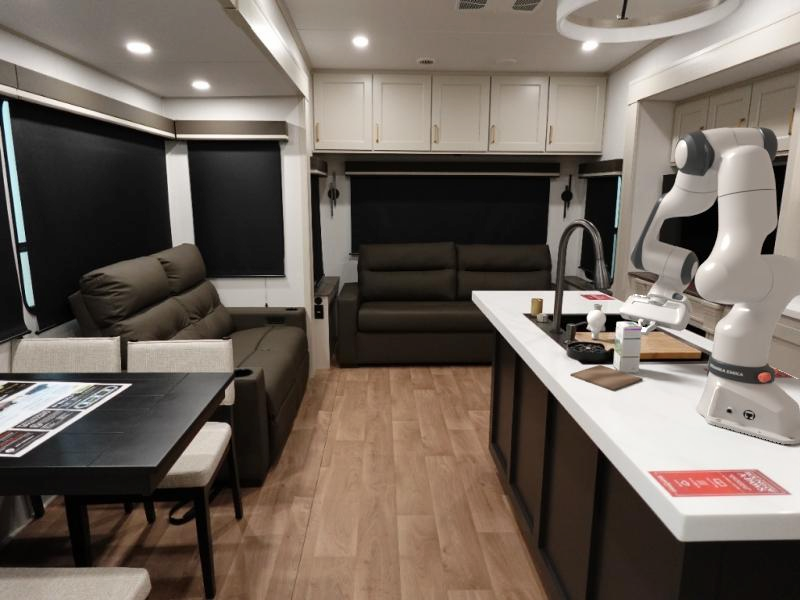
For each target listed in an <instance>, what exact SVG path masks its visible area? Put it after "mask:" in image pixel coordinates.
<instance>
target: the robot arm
mask: <svg viewBox="0 0 800 600" xmlns="http://www.w3.org/2000/svg"><path fill="white" fill-rule="evenodd" d="M778 141H779V140H778V137H777V135H776V134H775V132H774V131H773V130H772V129H771V128H768V127H763V126H762V127H761V126H752V127H727V126H725V127H717V128H711V129H710V128H709V129H706V130H699V129H698V130H693V131H690V132H688V133H685V134H682V136H681V137H680V138H679V140H678V141H677V142H676V145H675V148H674V153H673V154H674V155H673V157H674V164H675V167H676V169H677V170H678V171H677V174H676V177H675V179H674V180H675V182H674V184H673V186H672V187H671V189H670V191H668V192H665V193H663V194H662V195H661V196H659V198H658V199H657V200H656V202H655V203H654V206H653V207H652V209H651V212H650V214H649V215H648V218H647V220H646V223H645V224H644V227H643V229H642V231H641V233H640V236H639V238H638V240H637V242H636V243H635V245H634V247H633V248H632V250H631V254H630V262H631V263H632V265H633V267H634V268H635V269H636V270H640V271H644V272H649V273H652V274H655V275H657V276H658V279H657V280H656V281H655V282H654V283H653V284H652V286H651V288H650V289H649V291H648V293H647V295H644V294H639V293H635V294H631V295H629V297H628V298H627V299H626V300H625V301H624V303H623V304H622V305H621V307H620V308H619V310H618V311H619V314H620V316H621V318H622V319H624V320H629V321H632V322H636V323H637V322H638V323H637V324H638V325H640V326H642V335H643V336H646V337H647V336H649V334H650V333H651V332H653V331H654V330H655V329H657V328H659V327H661V328H664V329H668V330H673V331H678V332H681V331H684V330H685V329H686V328H687V325H688V324H689V322H690V319H691V313H692V312H693V306H692V304H691V302H690V299H689V298H688V297H687V295H684V294H683V293H684V291H685V290H687V288H688V287H689V285H690V283H691V282H693V280H694V285H695V289H696V292H697V293H698V295H699V296H700V297H701V298H702V299H704V300H705V301H708V302H712V303H716V304H720V305H721V304H722V305H733V306H732V308H731V309H730V311H729V312H728V313H727V314H726V315H725V316H724V317H723V318H721V319H720V320H719V321H718V322H717V323H716V325H715V329H714V335H713V342H712V343H713V344H712V349H711V354H709V358H708V361H707V369H706V375H707V378H706V382H705V386H704V390H703V392H702V395H701V397H700V400H699V402H698V403H697V406H696V410H697V412H698V413H699V414H700V415H701V416H702V417H704V418H705V421H706V422H707V423H708V424H709V425H712V426H715V425H716V427H720V428H722V427H723V428H722V429H726V428H727V429H726V430H729V429H731V430H730V431H733V430H734V432H737V433H740V432H741V434H744V433H745V435H747V434H748V436H751V435H752V437H754V436H756V437H755V438H758V437H759V439H761V438H762V440H765V439H766V441H768V440H769V441H768V442H772V441H773V443H776V442H777V443H776V444H779V443H781V444H780V445H784V444H791V445H797V444H800V405H799V403H798V402H797V401H796V400H794V398H793V397H792V396H790V395H789V394H788V392H786V391H785V390H784V389H783V388H782V387H781V386H779V385H778V383H776V382H775V379H776V375H777V374H778V373H779V372H778V371H779V368H775V369H773V368H772V367H771V366H770V364H769V363H768V359H769V353H770V348H771V342H772V339H773V334H774V332H775V330H776V329H775V328H776V326H777V325H778V322H779V320H780V318H781V317H782V314H783V313H784V312H785V310H786V308H787V307H788V305H789V304H790V303H791V302H792V300H794V299H795V298H796V297H797V296H798V295H800V260H799V259H796V258H795V257H790V256H787V255H781V254H775V253H773V254H761V253H762V247H763V244H764V242H765V240H766V238H767V236H768V235H770V234H771V233H772V232H773V231H775V229H776V228H777V225H778V207H777V206H778V205H777V203H778V202H777V189H776V188H777V187H776V178H775V173H774V168H773V164H772V163H773V161H774V160H775V158H776V156H777V154H778V153H777V152H778V149H779V142H778ZM716 201H717V204H718V205H717V206H718V207H717V209H718V211H717V212H718V214H717V215H718V228H717V229H718V231H717V237H716V240H715V244H714V246H713V248H712V251H711V252H710V254H709V256H708V258H707V259H706V260H704V262H703V263H702V264H701V265H700V262H699V259H698V256H697V255H696V253H695V252H694V251H692V250H689V249H686V248H683V247H679V246H677V245H675V246H674V245H673V244H669V243H665V242H662V241H659V240H658V239H657V236H658V234H659V232H660V231H661V228H662V225H663V223H664V221H665V220H668V219H671V218H679V217H691V216H695V215H699V214H701V213H703V212H706V211H707V210H709V209H710V208H711V207H712V206H713V205H714V203H715V202H716ZM646 325H647V326H646ZM643 326H644V327H643ZM645 326H646V327H645Z"/></svg>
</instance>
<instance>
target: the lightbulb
mask: <svg viewBox="0 0 800 600" xmlns="http://www.w3.org/2000/svg"><path fill="white" fill-rule="evenodd" d="M586 321H587V323H588V324H589V325H590V328H591V331H590V332H591V333H590V335H591V336H590V338H591V339H592V340H594V339H596V340H598V339H599V338H600V337H599V335H600V332H601V331H600V329H601V327H602V326H603V325H604V326H605V323H606V321H607V316H606V314H605V312H603V311H602V310H601V311H600V310H594V309H593V310H591V311H590V312H589V313H587V316H586Z"/></svg>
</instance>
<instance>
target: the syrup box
mask: <svg viewBox="0 0 800 600" xmlns="http://www.w3.org/2000/svg"><path fill="white" fill-rule="evenodd" d="M615 325H616V327H615V337H614V338H615V339H614V349H613V350H614V351H613V362H612V367H613V369H615V370H618V371H621V372H624V373H627V374H638V373H639V369H640V358H641V346H642V345H641V344H642V326H640V325H638V323H637V322H636V321H625V320H624V321H616V324H615Z"/></svg>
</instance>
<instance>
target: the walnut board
mask: <svg viewBox="0 0 800 600" xmlns="http://www.w3.org/2000/svg"><path fill="white" fill-rule="evenodd" d="M570 377H574V378H576V379H579V380H581V381H585V382H587V383H590V384H592V385H595V386H599V387H601V388H604V389H606V390H609V391H612V392H615V391H617V390H621V389H622V388H626V387H628V386H631V385H635V384H637V383H639V382H642V381H643V378H642V377H640V376H637V375H633V374H631V373H624V372H621V371H618V370H617V369H616V368H610V367H608V366H605V365H602V364H597V365H595V366H592V367H588V368H585V369H582V370H581V369H580V370H578V371H575V372H572V373H570Z"/></svg>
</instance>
